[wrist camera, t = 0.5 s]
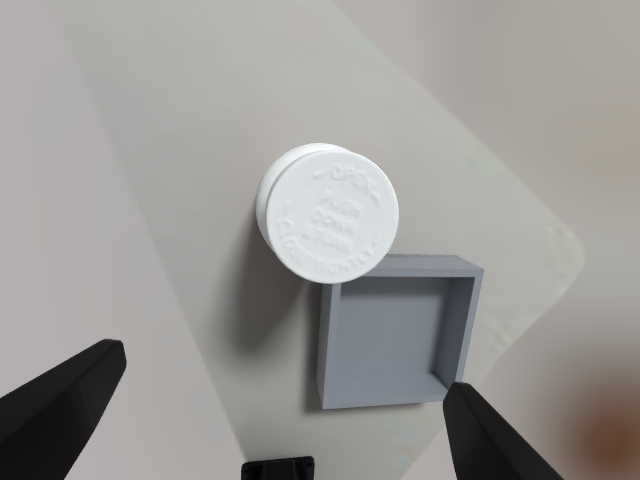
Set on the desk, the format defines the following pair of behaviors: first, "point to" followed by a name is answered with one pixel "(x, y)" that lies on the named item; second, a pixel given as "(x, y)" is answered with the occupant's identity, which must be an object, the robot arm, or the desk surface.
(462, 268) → the slate tray
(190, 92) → the desk surface
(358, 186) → the pill bottle
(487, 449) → the robot arm
